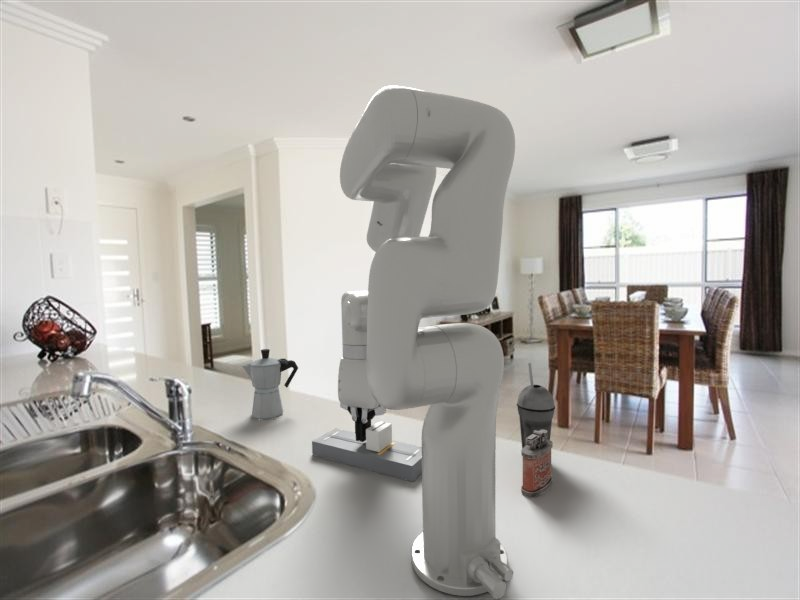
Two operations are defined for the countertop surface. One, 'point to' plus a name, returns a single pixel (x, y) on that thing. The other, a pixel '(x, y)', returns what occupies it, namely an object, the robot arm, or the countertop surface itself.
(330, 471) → the countertop surface
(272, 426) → the countertop surface
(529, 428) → the beverage cup
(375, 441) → the fader knob
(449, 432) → the robot arm
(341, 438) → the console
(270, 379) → the coffee maker
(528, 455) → the lighter
